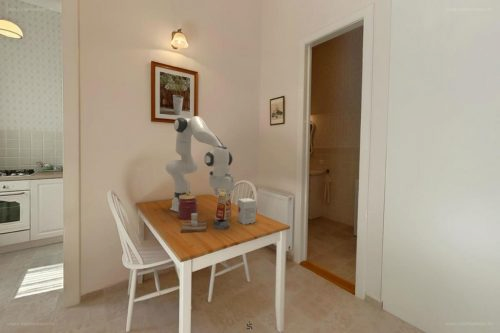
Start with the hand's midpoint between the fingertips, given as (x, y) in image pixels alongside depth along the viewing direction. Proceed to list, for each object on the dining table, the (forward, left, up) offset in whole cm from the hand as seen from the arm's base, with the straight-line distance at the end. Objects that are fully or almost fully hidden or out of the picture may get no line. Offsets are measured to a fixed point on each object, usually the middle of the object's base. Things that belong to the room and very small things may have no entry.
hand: (221, 195), depth 132 cm
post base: (-1, -16, -19) cm, 25 cm away
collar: (0, 0, -20) cm, 20 cm away
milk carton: (-18, +3, -20) cm, 27 cm away
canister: (-24, -22, -20) cm, 38 cm away
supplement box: (-8, +17, -20) cm, 27 cm away
